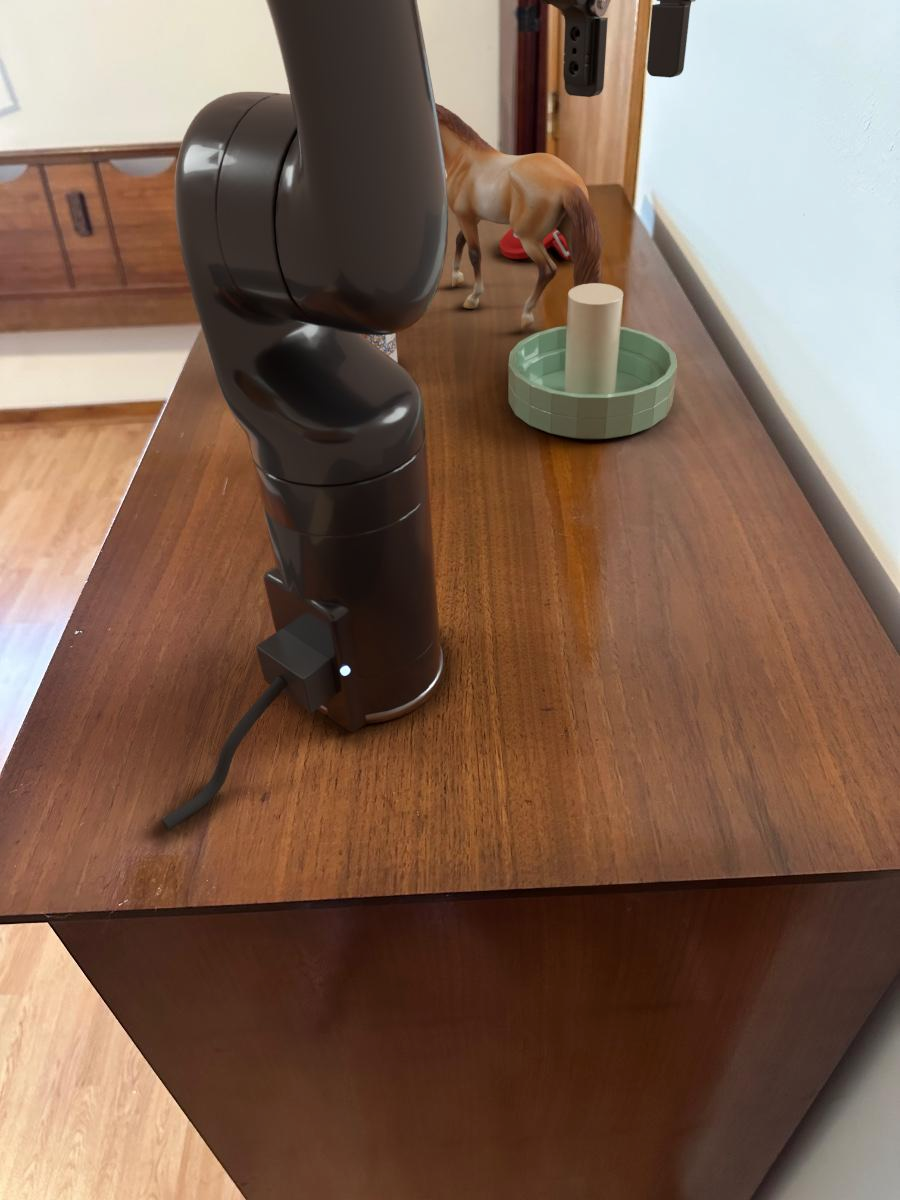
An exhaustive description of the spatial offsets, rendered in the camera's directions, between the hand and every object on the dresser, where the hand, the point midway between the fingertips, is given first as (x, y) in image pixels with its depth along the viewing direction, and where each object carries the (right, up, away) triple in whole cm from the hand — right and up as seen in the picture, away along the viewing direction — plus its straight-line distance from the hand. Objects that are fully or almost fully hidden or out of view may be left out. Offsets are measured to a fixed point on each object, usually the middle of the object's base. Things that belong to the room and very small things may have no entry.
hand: (626, 85), depth 53 cm
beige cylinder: (+3, -11, +31) cm, 33 cm away
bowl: (+3, -12, +31) cm, 34 cm away
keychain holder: (+2, +16, +61) cm, 64 cm away
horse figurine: (-6, 0, +46) cm, 47 cm away
